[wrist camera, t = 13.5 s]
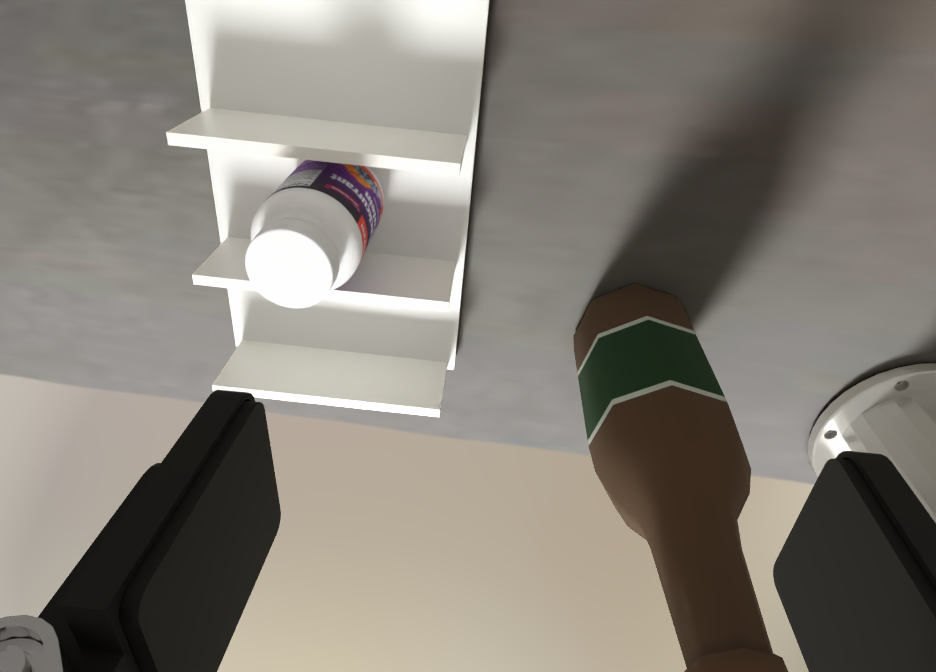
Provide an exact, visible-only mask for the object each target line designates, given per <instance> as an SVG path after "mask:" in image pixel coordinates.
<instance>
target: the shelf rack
mask: <svg viewBox="0 0 936 672" xmlns="http://www.w3.org/2000/svg"><path fill="white" fill-rule="evenodd" d="M185 2H186V9H187V16H188V22H189V29H190V36H191V43H192V50H193V57H194V63H195V70H196V77H197V84H198V91H199V98H200V104H201V111H202V113H200V114H198V115H196V116H194V117H193V118H191V119H189V120H187V121H185V122H184V123H182V124H180V125H178V126H176V127H175V128H173V129H171V130H169V131H167V132H166V134H167V140H168V145H174V146H183V147H193V148H202V149H207V152H208V159H209V166H210V173H211V179H212V186H213V193H214V200H215V207H216V214H217V220H218V227H219V234H220V241H221V245H220V246H219V247H218V248H217V249H216V250H215V251H214V252H213V253H212V254H211V255H210V256H209V257H208V258H207V259H206V260H205V261H204V262H203V264H202V265H201V266H200V267H199V268H198V269H197V270H196V271H195V272H194V273H193V274H192V278H193V284H195V285H204V286H213V287H223V288H227V289H228V296H229V302H230V309H231V316H232V323H233V330H234V337H235V343H236V347H237V349H236V350H235V351H234V353H233V354H232V356H231V357H230V359H229V360H228V362H227V363H226V365H225V366H224V368H223V369H222V371H221V372H220V374H219V375H218V377H217V378H216V380H215V381H214V383H213V384H212V389H213V392H214V391H215V390H227V391H238V392H248V393H251V394H252V395H253V397H257V398H266V399H275V400H284V401H294V402H303V403H312V404H321V405H330V406H340V407H349V408H358V409H367V410H377V411H386V412H395V413H404V414H414V415H423V416H432V417H439V416H440V409H441V403H442V396H443V389H444V383H445V376H446V370H447V369H449V370H454V365H455V358H456V347H457V337H458V326H459V316H460V306H461V295H462V285H463V274H464V264H465V253H466V243H467V232H468V222H469V211H470V201H471V190H472V180H473V169H474V159H475V148H476V138H477V127H478V117H479V107H480V96H481V86H482V75H483V65H484V54H485V44H486V33H487V23H488V12H489V2H490V0H185ZM305 160H314V161H323V162H332V163H341V164H351V165H360V166H369V167H370V169H371V170H372V171H373V172H374V173H375V175H376V176H377V178H378V180H379V182H380V184H381V187H382V190H383V195H384V209H383V214H382V217H381V219H380V222H379V224H378V226H377V228H376V230H375V232H374V234H373V236H372V238H371V240H370V242H369V244H368V246H367V248H366V250H365V253H364V255H363V257H362V259H361V261H360V264H359V266H358V268H357V269H356V271H355V272H354V274H353V275H352V276H351V278H350V279H349V280H348V281H347V282H346V283H344V284H343V285H341V286H340V287H338V288H336V289H334V290H331V291H329V293H328V294H327V295H326V297H325V298H324V299H323V300H321V301H320V302H318V303H317V304H315V305H313V306H310V307H306V308H287V307H283V306H280V305H277V304H275V303H273V302H271V301H269V300H268V299H266V298H265V297H264V296H262V295H261V294H260V293H259V292H258V291H257V290H256V289H255V287H254V286H253V285H252V283H251V282H250V280H249V277H248V275H247V272H246V268H245V255H246V251H247V248H248V246H249V244H250V243H251V225H252V221H253V218H254V216H255V214H256V212H257V210H258V209H259V207H260V206H261V205H262V204H263V203H264V201H265V200H266V199H267V198H268V197H269V196H270V195H271V194H272V193H273V192H274V191H275V190H276V189H277V188H278V187H279V186H280V185H281V184H282V183H283V182H284V181H285V179H286V178H287V177H288V176H289V175H290V174H291V173H292V172H293V171H294V170H295V169H296V168H297V167H298V166H299V165H300V164H301V163H302V162H304V161H305Z"/></svg>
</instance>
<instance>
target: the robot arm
mask: <svg viewBox="0 0 936 672" xmlns="http://www.w3.org/2000/svg"><path fill="white" fill-rule="evenodd" d="M808 455H809V460H810V463H811V465H812V467H813V469H814V471H815V473H816V475H817V476H818V479H817V481H816V483H815V485H814V487H813V489H812V491H811V493H810V495H809V497H808V499H807V501H806V503H805V504H804V507H803V508H802V511H801V512H800V514H799V516H798V518H797V520H796V522H795V524H794V527H793V528H792V530H791V532H790V534H789V536H788V538H787V540H786V542H785V544H784V546H783V548H782V550H781V552H780V554H779V556H778V558H777V560H776V562H775V565H774V570H773V576H774V583H775V586H776V589H777V591H778V594H779V596H780V599H781V601H782V604H783V607H784V609H785V612H786V614H787V617H788V619H789V622H790V624H791V627H792V630H793V632H794V634H795V637H796V639H797V642H798V645H799V647H800V650H801V652H802V655H803V658H804V660H805V663H806V665H807V668H808V670H809V672H936V363H929V364H915V365H910V366H904V367H899V368H895V369H892V370H889V371H886V372H883V373H879V374H877V375H875V376H873V377H871V378H868V379H866V380H864V381H862V382H860V383H858V384H857V385H855V386H853V387H852V388H850V389H849V390H847V391H845V392H844V393H843V394H842V395H840V396H839V397H838V398H837V399H836V400H834V401H833V402H832V403H831V404H830V405H829V406H828V407H827V408H826V410H825V411H824V412H823V413H822V414H821V415H820V417H819V418H818V420H817V422H816V423H815V425H814V427H813V429H812V432H811V435H810V438H809V442H808ZM280 517H281V512H280V504H279V498H278V491H277V485H276V479H275V472H274V466H273V460H272V454H271V447H270V440H269V434H268V429H267V421H266V415H265V409H264V405H263V404H262V403H260V402H255V400H254V397H253V395H252V394H251V393H248V392H238V391H227V390H215V391H214V392H213V393H212V394H211V395H210V396H209V397H208V399H207V400H206V402H205V403H204V404H203V406H202V407H201V408H200V410H199V411H198V413H197V414H196V416H195V417H194V418H193V420H192V421H191V422H190V424H189V425H188V426H187V428H186V429H185V431H184V432H183V433H182V435H181V436H180V438H179V439H178V440H177V442H176V443H175V445H174V446H173V448H172V449H171V450H170V452H169V453H168V454H167V456H166V457H165V458H164V460H163V461H162V463H157V464H155V465H153V466H151V467H150V468H149V469H148V470H147V471H146V472H145V473H144V474H143V476H142V477H141V478H140V480H139V481H138V483H137V484H136V485H135V487H134V488H133V489H132V491H131V492H130V494H129V495H128V496H127V498H126V499H125V500H124V502H123V503H122V504H121V506H120V507H119V508H118V510H117V511H116V512H115V514H114V515H113V516H112V518H111V519H110V520H109V522H108V523H107V525H106V526H105V527H104V529H103V530H102V531H101V533H100V534H99V535H98V537H97V538H96V539H95V541H94V542H93V543H92V545H91V546H90V547H89V549H88V550H87V552H86V553H85V554H84V556H83V557H82V558H81V560H80V561H79V562H78V564H77V565H76V566H75V568H74V569H73V570H72V572H71V573H70V574H69V576H68V577H67V579H66V580H65V581H64V583H63V584H62V585H61V587H60V588H59V589H58V591H57V592H56V593H55V595H54V596H53V597H52V599H51V600H50V602H49V603H48V604H47V606H46V607H45V608H44V610H43V611H42V612H41V614H40V615H39V617H33V616H28V615H19V616H9V617H4V618H1V619H0V672H217V670H218V667H219V665H220V663H221V661H222V659H223V656H224V654H225V652H226V649H227V647H228V645H229V642H230V640H231V638H232V636H233V633H234V631H235V629H236V626H237V624H238V622H239V619H240V617H241V615H242V613H243V610H244V608H245V606H246V603H247V601H248V599H249V596H250V594H251V592H252V589H253V587H254V585H255V582H256V580H257V578H258V576H259V573H260V571H261V569H262V566H263V564H264V562H265V559H266V557H267V555H268V553H269V550H270V548H271V546H272V543H273V541H274V539H275V536H276V534H277V531H278V528H279V524H280Z"/></svg>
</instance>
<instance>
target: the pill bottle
mask: <svg viewBox="0 0 936 672" xmlns="http://www.w3.org/2000/svg"><path fill="white" fill-rule="evenodd" d="M383 209H384V195H383V190H382V187H381V184H380V182H379V180H378V178H377V176H376V175H375V173H374V172H373V171H372V170H371V169H370V167H369V166H360V165H351V164H341V163H332V162H323V161H314V160H305V161H304V162H302V163H301V164H300V165H299V166H298V167H297V168H296V169H295V170H294V171H293V172H292V173H291V174H290V175H289V176H288V177H287V178H286V179H285V181H284V182H283V183H282V184H281V185H280V186H279V187H278V188H277V189H276V190H275V191H274V192H273V193H272V194H271V195H270V196H269V197H268V198H267V199H266V200H265V201H264V203H263V204H262V205H261V206H260V207H259V209H258V210H257V212H256V214H255V216H254V218H253V221H252V225H251V243H250V244H249V246H248V248H247V251H246V255H245V268H246V272H247V275H248V277H249V280H250V282H251V283H252V285H253V286H254V287H255V289H256V290H257V291H258V292H259V293H260V294H261V295H262V296H264V297H265V298H266V299H268V300H269V301H271V302H273V303H275V304H277V305H280V306H283V307H287V308H306V307H310V306H313V305H315V304H317V303H318V302H320V301H321V300H323V299H324V298H325V297H326V295H327V294H328V293H329V291H331V290H334V289H336V288H338V287H340V286H341V285H343V284H344V283H346V282H347V281H348V280H349V279H350V278H351V276H352V275H353V274H354V272H355V271H356V269H357V268H358V266H359V264H360V261H361V259H362V257H363V255H364V253H365V250H366V248H367V246H368V244H369V242H370V240H371V238H372V236H373V234H374V232H375V230H376V228H377V226H378V224H379V222H380V219H381V217H382V214H383Z"/></svg>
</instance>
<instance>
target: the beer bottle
mask: <svg viewBox="0 0 936 672" xmlns="http://www.w3.org/2000/svg"><path fill="white" fill-rule="evenodd" d="M574 352H575V359H576V366H577V372H578V379H579V386H580V392H581V399H582V405H583V412H584V419H585V425H586V432H587V439H588V445H589V449H590V453H591V457H592V461H593V464H594V468H595V472H596V473H597V475H598V477H599V479H600V481H601V483H602V484H603V486H604V488H605V490H606V491H607V494H608V495H609V497H610V499H611V501H612V503H613V504H614V506H615V508H616V509H617V511H618V512H619V514H620V515H621V517H622V518H623V520H624V521H625V523H626V524H627V526H628V527H630V528H631V529H632V530H634V531H635V532H636V533H638V534H639V535H640V536H642V537H643V538H644V539H646V540H647V542H648V544H649V546H650V548H651V551H652V554H653V558H654V561H655V564H656V568H657V571H658V574H659V578H660V581H661V584H662V587H663V590H664V594H665V597H666V600H667V604H668V607H669V611H670V614H671V617H672V620H673V624H674V627H675V630H676V634H677V637H678V640H679V644H680V647H681V650H682V653H683V657H684V660H685V663H686V667H687V669H686V670H685V672H788V670H787V668H786V665H785V663H784V661H783V658H782V657H779V656H777V655H775V654H773V651H772V648H771V645H770V641H769V638H768V635H767V632H766V628H765V625H764V621H763V618H762V615H761V612H760V608H759V605H758V602H757V598H756V595H755V591H754V588H753V585H752V582H751V578H750V575H749V572H748V568H747V565H746V562H745V558H744V555H743V552H742V547H741V541H740V535H739V528H738V522H737V519H738V517H739V515H740V513H741V511H742V509H743V506H744V504H745V502H746V500H747V498H748V496H749V493H750V477H751V468H750V465H749V462H748V459H747V456H746V453H745V450H744V447H743V444H742V441H741V439H740V436H739V433H738V430H737V428H736V425H735V422H734V419H733V417H732V414H731V411H730V409H729V406H728V403H727V401H726V399H725V396H724V394H723V392H722V390H721V388H720V386H719V383H718V381H717V379H716V377H715V375H714V373H713V371H712V368H711V366H710V364H709V362H708V360H707V358H706V356H705V353H704V351H703V349H702V347H701V345H700V343H699V341H698V338H697V336H696V334H695V332H694V330H693V328H692V325H691V323H690V321H689V319H688V317H687V315H686V313H685V310H684V309H683V307H682V305H681V304H680V302H679V300H678V299H677V297H674V296H671V295H668V294H665V293H662V292H658V291H655V290H652V289H649V288H646V287H643V286H640V285H637V284H631V285H629V286H626V287H624V288H621V289H619V290H616V291H613V292H611V293H608V294H606V295H603V296H601V297H598V298H596V299H593V300H592V301H591V303H590V305H589V307H588V309H587V311H586V313H585V315H584V317H583V319H582V321H581V323H580V325H579V327H578V328H577V330H576V332H575V334H574Z"/></svg>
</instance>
